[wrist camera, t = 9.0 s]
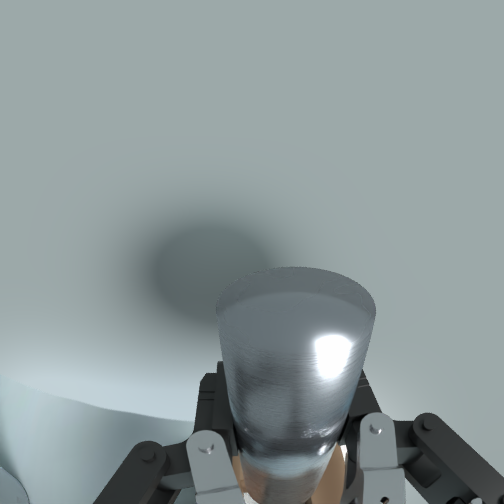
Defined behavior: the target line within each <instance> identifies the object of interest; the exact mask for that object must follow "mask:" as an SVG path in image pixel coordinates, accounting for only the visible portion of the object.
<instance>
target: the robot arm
mask: <svg viewBox="0 0 504 504" xmlns="http://www.w3.org/2000/svg"><path fill="white" fill-rule="evenodd" d="M337 443H338V446H341V445H346V447H347V453H346V457H345V474H344V486H343V493H342V496H341V499H340V504H382V503H383V504H406V501H405V478H406V479H407V480H408V481H409V482H410V483H411V485H413V487H414V488H415V489H416V490H417V491H418V492H419V493H420V494H421V496H422V497H423V498H424V499H425V500H426V501H427V502H428V503H429V504H504V477H503V476H501V475H500V474H499V473H498V472H497V471H496V470H495V469H494V468H493V467H492V466H491V465H489V463H488V462H487V461H485V460H484V459H483V458H482V457H481V456H480V455H479V454H478V453H477V452H476V451H475V450H474V449H473V448H472V447H470V446H469V445H468V444H467V443H466V442H465V441H464V440H463V439H462V438H461V437H460V436H459V435H457V434H456V433H455V432H454V431H453V430H452V429H451V428H450V427H449V426H448V425H446V423H445V422H444V421H442V420H441V419H440V418H439V417H438V416H437V415H435V414H432V413H423V414H420V415H419V416H417V417H416V419H415V420H414V421H395V420H392V419H391V418H390V417H389V416H388V415H386V414H383V413H382V411H381V410H380V407H379V405H378V403H377V400H376V398H375V396H374V394H373V392H372V389H371V387H370V386H369V383H368V380H367V379H366V376H365V374H364V371H363V369H362V371H361V375H360V378H359V381H358V385H357V388H356V391H355V394H354V397H353V400H352V403H351V406H350V409H349V412H348V415H347V418H346V420H345V423H344V426H343V428H342V431H341V434H340V436H339V439H338V441H337ZM233 456H238V445H237V440H236V434H235V429H234V423H233V418H232V414H231V408H230V402H229V396H228V390H227V384H226V377H225V371H224V364H223V361H218V363H217V373H206V374H205V376H204V377H203V379H202V380H201V382H200V388H199V395H198V402H197V410H196V417H195V425H194V431H193V433H192V435H191V436H190V437H189V438H188V439H187V440H185V441H184V442H182V443H179V444H174V445H169V446H164V447H162V446H161V445H160V444H158V443H156V442H153V441H144V442H140V443H138V444H137V445H135V446H134V447H133V449H132V450H131V451H130V453H129V454H128V456H127V457H126V458H125V460H124V461H123V463H122V464H121V465H120V467H119V468H118V470H117V471H116V472H115V474H114V475H113V477H112V478H111V479H110V481H109V482H108V484H107V485H106V486H105V488H104V489H103V490H102V492H101V493H100V495H99V496H98V497H97V499H96V500H95V501H94V503H93V504H173V503H174V501H175V500H176V498H177V496H178V494H179V493H180V491H181V489H182V488H188V487H192V486H195V489H196V494H195V498H196V503H197V504H246V503H245V501H244V498H243V495H242V492H241V490H240V487H239V485H238V482H237V479H236V476H235V474H234V471H233V468H232V458H233ZM0 504H29V500H28V497H27V494H26V492H25V490H24V488H23V486H22V485H21V484H20V482H19V481H18V480H17V479H15V478H14V477H13V476H12V475H11V474H9V473H8V472H7V471H6V470H5V469H3V468H2V467H1V466H0Z"/></svg>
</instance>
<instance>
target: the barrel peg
mask: <svg viewBox="0 0 504 504" xmlns="http://www.w3.org/2000/svg"><path fill="white" fill-rule="evenodd" d="M216 314H217V322H218V330H219V337H220V344H221V351H222V357H223V364H224V371H225V377H226V384H227V390H228V396H229V402H230V408H231V414H232V418H233V423H234V429H235V434H236V440H237V445H238V452H239V457H240V462H241V467H242V472H243V477H244V481H245V486H246V489H247V492H248V493H249V495H250V496H251V497H252V498H253V500H255V501H256V502H257V503H259V504H302V503H304V502H305V501H307V500H308V499H309V498H310V497H311V496H312V495H313V494H314V492H315V490H316V488H317V486H318V484H319V482H320V480H321V478H322V476H323V474H324V471H325V469H326V467H327V465H328V463H329V460H330V458H331V456H332V453H333V451H334V449H335V446H336V444H337V441H338V439H339V436H340V434H341V431H342V428H343V426H344V423H345V420H346V418H347V415H348V412H349V409H350V406H351V403H352V400H353V397H354V394H355V391H356V388H357V385H358V381H359V378H360V375H361V371H362V368H363V364H364V361H365V357H366V353H367V350H368V346H369V342H370V338H371V334H372V329H373V325H374V320H375V316H376V307H375V303H374V300H373V298H372V297H371V295H370V294H369V293H368V292H367V290H366V289H365V288H364V287H362V286H361V285H360V284H358V283H357V282H355V281H353V280H352V279H350V278H348V277H345V276H342V275H340V274H337V273H334V272H331V271H327V270H321V269H316V268H307V267H282V268H273V269H268V270H262V271H258V272H255V273H252V274H249V275H246V276H245V277H242V278H240V279H238V280H236V281H234V282H233V283H231V284H230V285H229V286H228V287H227V288H225V290H224V291H223V292H222V293H221V294H220V296H219V298H218V300H217V304H216Z"/></svg>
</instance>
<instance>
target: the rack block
mask: <svg viewBox="0 0 504 504" xmlns="http://www.w3.org/2000/svg"><path fill="white" fill-rule="evenodd" d="M232 468H233V471H234V474H235V476H236V479H237V482H238V485H239V487H240V490H241V492H242V495H243V498H244V494H243V493H246V492H247V489H246V486H245V481H244V477H243V472H242V467H241V462H240V457H239V453H238V456H233V458H232ZM344 474H345V462H344V458H343V455H342V451H341V447H340V446H338V443H337V444H336V446H335V449H334V451H333V453H332V456H331V458H330V460H329V463H328V465H327V467H326V469H325V471H324V474H323V476H322V478H321V480H320V482H319V484H318V486H317V488H316V490H315V492H314V494H313V495H312V496H311V497H310V498H309V499H308V500H307V501H305V504H340V499H341V496H342V493H343V486H344Z"/></svg>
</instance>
